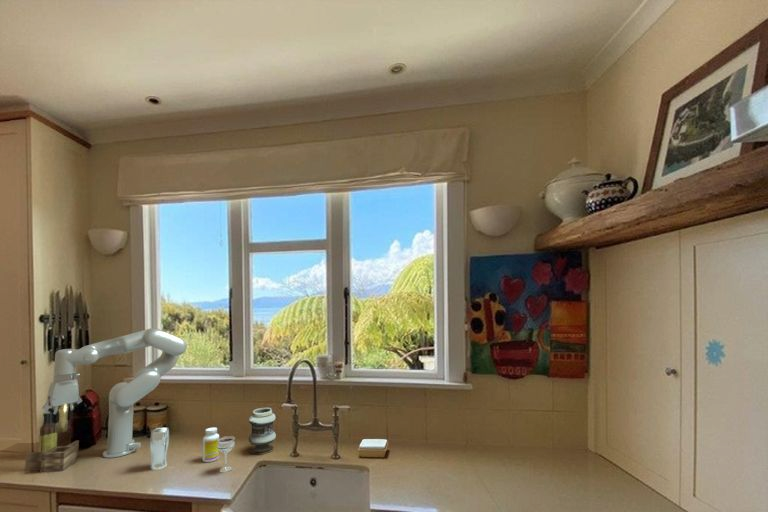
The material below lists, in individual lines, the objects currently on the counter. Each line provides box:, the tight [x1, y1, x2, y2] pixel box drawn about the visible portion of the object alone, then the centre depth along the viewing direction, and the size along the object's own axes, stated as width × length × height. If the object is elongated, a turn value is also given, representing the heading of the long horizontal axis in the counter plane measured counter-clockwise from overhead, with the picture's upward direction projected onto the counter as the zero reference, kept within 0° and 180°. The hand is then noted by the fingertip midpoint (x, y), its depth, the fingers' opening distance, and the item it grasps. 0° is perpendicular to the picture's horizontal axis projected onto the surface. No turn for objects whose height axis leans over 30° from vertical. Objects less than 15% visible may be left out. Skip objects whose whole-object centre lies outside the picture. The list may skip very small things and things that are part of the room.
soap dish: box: [357, 438, 389, 459], centre depth 170 cm, size 12×10×5 cm
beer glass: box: [149, 426, 170, 471], centre depth 162 cm, size 7×7×15 cm
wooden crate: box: [24, 440, 80, 474], centre depth 167 cm, size 16×16×7 cm
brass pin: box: [55, 403, 69, 434], centre depth 165 cm, size 4×4×12 cm
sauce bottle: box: [38, 411, 58, 452], centre depth 176 cm, size 7×6×20 cm
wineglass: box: [217, 435, 236, 473], centre depth 158 cm, size 7×7×12 cm
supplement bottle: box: [201, 427, 220, 463], centre depth 169 cm, size 7×7×13 cm
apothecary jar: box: [248, 407, 277, 455], centre depth 178 cm, size 12×12×18 cm
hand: (61, 420), depth 165 cm, fingers closed on brass pin, 4 cm apart
